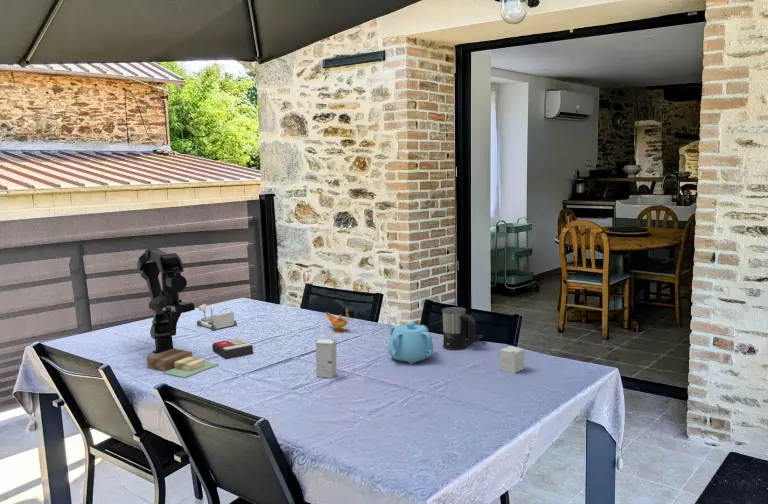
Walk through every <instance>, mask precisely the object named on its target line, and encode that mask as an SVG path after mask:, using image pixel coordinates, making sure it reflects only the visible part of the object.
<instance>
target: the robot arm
mask: <svg viewBox="0 0 768 504" xmlns="http://www.w3.org/2000/svg"><path fill="white" fill-rule="evenodd" d="M136 268H137V271H138V272H139V274H140V277H141V278H142V279H144V281H146V284H147V288H148V293H149V297H150V301H149V302H148V307H149V308H148V309H151V310H152V311H153V313H154V316H153V318H152V324H151V328H150V331H149V335H150V338H152V339H153V340H154V342H155V349H154V350H152V353H155V354H158V353H161V352H164V351H167V350H170V349H175V348H174V341H173V337H174V336H175V337H176V335H177V325H178V321H179V319H180V317H181V315H182V314H184V313H189V312H192V311H195V310H196V307H195V303H193V302H189V301H184V302H183V300H182V299H180V293H181V292H182V291H184V290H185V288H186V287H187V285H188V281H187V279H186V277H185V276H183V275H182V273H183V272H184V265H183V262H182V260H181V258H180V256H179V254H177V253H176V252H172V253H171V252H170V253H167V252H165V251H163V250H161V249H160V248H159V247H154V248H147V249H145V251H144V253H143V254H141V255H140V256H139V257H138V260H137V263H136ZM160 274H161V275H160ZM159 275H160V276H161V283H160V279H159Z"/></svg>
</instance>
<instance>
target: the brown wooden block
mask: <svg viewBox="0 0 768 504" xmlns="http://www.w3.org/2000/svg"><path fill="white" fill-rule="evenodd" d="M192 353H193V352H192V351H190V350H183V349H178V348H174V349H170V350H167V351H164V352H161V353H155V354H152V355H149V356H146V364H147V368H148V369H152V370H156V371H160V372H161V371H162V372H165V371H168V370H171V369H174V368H175V365H174V362H176V361H178V360H181V359H184V358H187V357H193V354H192Z"/></svg>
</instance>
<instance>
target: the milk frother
mask: <svg viewBox="0 0 768 504" xmlns="http://www.w3.org/2000/svg"><path fill="white" fill-rule="evenodd" d="M441 311H442V330H443V332H442V333H443V335H442V336H443V344H442V347H443V348H444V349H447V350H454V349H455V350H462V348H463V349H466V348H467V347H468V346H467V345H468V344H469V345H472V344H475V342H476V341H480V340H481V339H483V338H484V335H483V334H479V335H478V334H476V332H477V327H476V326H477V324H476V323H477V322H476V319H475V317H473V316H472V315H470V314H468V313H466V311H467V309H466V308H464V307H460V306H459V307H455V306H452V307H451V306H450V307H444V308H442V309H441ZM466 322H467V323H466ZM466 324H467V325H468V326H466ZM467 327H468V330H467ZM467 332H468V334H467ZM466 346H467V347H466ZM465 347H466V348H465ZM455 350H454V351H455Z"/></svg>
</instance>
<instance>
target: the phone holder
mask: <svg viewBox="0 0 768 504" xmlns="http://www.w3.org/2000/svg"><path fill="white" fill-rule="evenodd" d="M208 308H209V310H210V311H211V312H210V313H211V315H210V316H208V317H206V311H207V304H206V303H203V304H200V305H199V306H198V310H199V311H200V312H203V316H204V317H203V318H200V320H197V321H196V325H197V327H199V328H200V327H202V326H203V327H206V328H210V330H211V331H213V332H216V331H217V330H219V329H222V328H226V327H231V326H233V327H237V326H238V322H237V320H235V314H234V311H230V312H224V313H219V314H213V310H214V306H209V307H208Z"/></svg>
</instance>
